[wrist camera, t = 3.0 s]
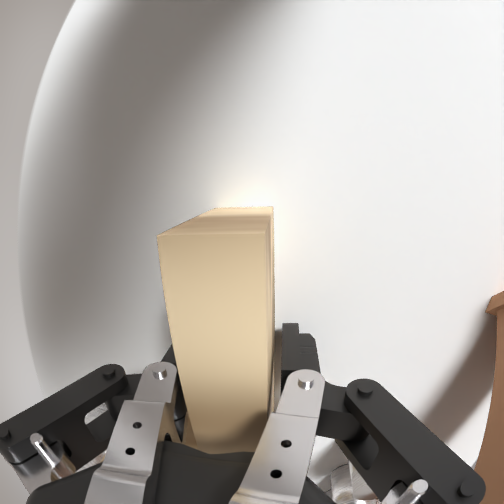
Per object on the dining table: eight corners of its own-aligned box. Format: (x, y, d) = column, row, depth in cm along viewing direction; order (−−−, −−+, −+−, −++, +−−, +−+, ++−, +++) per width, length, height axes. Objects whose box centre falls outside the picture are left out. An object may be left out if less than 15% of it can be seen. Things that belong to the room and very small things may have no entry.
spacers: (84, 389, 16) (42, 439, 11) (395, 411, 14) (421, 483, 8) (135, 479, 20) (116, 520, 14) (352, 497, 17) (357, 545, 12)
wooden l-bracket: (96, 215, 13) (8, 242, 7) (276, 206, 12) (271, 233, 6) (145, 418, 16) (112, 480, 11) (275, 434, 15) (269, 511, 10)
